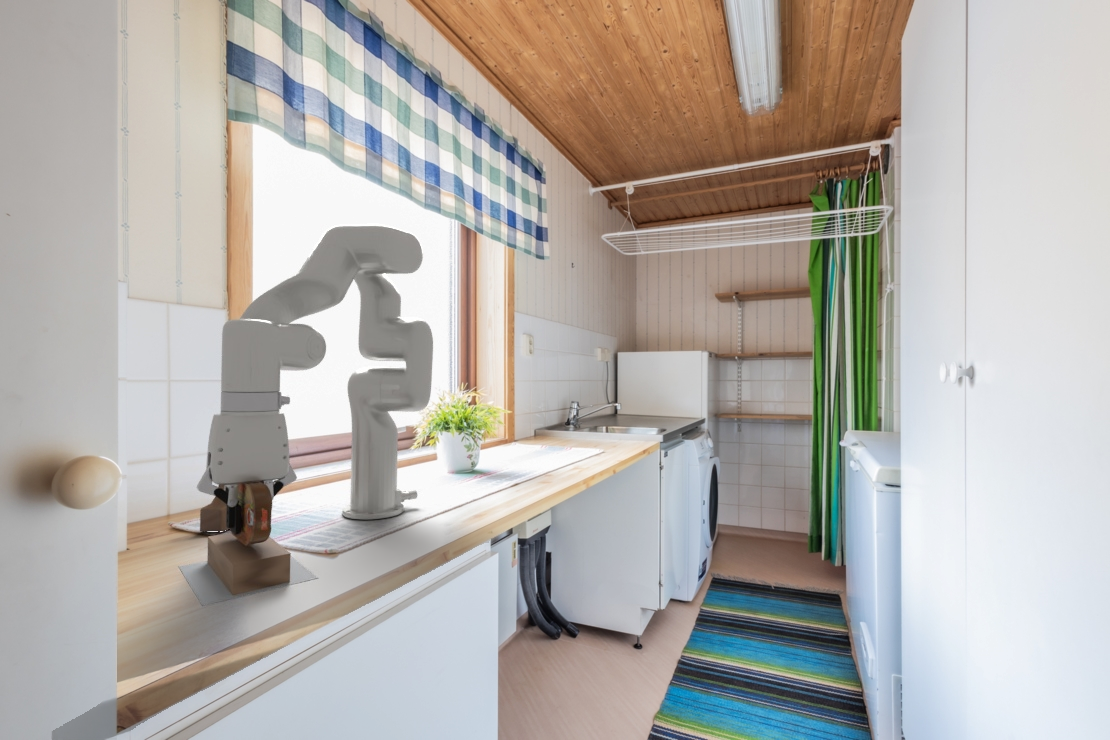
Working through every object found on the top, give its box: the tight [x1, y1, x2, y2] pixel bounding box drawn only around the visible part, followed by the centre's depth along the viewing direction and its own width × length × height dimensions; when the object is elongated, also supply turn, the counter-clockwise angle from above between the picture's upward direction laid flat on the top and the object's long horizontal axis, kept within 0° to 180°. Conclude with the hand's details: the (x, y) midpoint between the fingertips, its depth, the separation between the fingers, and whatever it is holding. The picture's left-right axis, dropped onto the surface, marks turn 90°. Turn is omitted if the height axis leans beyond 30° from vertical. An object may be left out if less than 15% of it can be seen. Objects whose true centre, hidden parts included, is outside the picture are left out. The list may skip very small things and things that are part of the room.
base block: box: [206, 532, 291, 596], centre depth 78 cm, size 7×16×4 cm, turn 43°
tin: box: [229, 482, 273, 546], centre depth 78 cm, size 15×3×8 cm, turn 43°
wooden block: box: [199, 485, 230, 532], centre depth 104 cm, size 9×4×18 cm, turn 173°
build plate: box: [178, 554, 319, 607], centre depth 78 cm, size 14×18×1 cm
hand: (248, 528), depth 78 cm, fingers closed on tin, 2 cm apart
